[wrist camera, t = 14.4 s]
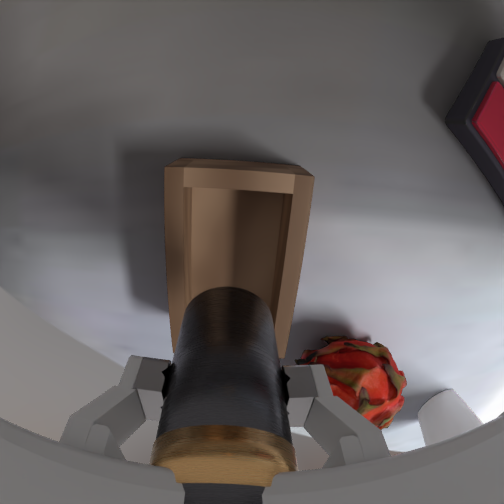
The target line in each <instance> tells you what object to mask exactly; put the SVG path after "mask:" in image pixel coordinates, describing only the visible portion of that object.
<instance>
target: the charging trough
mask: <svg viewBox="0 0 504 504" xmlns="http://www.w3.org/2000/svg"><path fill="white" fill-rule="evenodd" d="M314 178H315V177H314V176H313V175H312V174H310V173H309V172H308V171H306V170H305V169H304V168H302V167H301V166H296V165H286V164H276V163H264V162H251V161H236V160H218V159H193V158H180V159H178V160H176V161H174V162H172V163H171V164H169V165H167V166H165V169H164V220H165V254H166V274H167V290H168V304H169V317H170V328H171V338H172V347H173V353H175V349H176V345H177V340H178V336H179V332H180V328H181V324H182V320H183V316H184V313H185V310H186V308H187V306H188V304H189V303H190V302H191V300H192V299H193V298H195V297H196V296H197V295H198V294H200V293H202V292H204V291H206V290H209V289H211V288H216V287H223V286H230V287H238V288H242V289H245V290H248V291H250V292H252V293H254V294H255V295H257V296H258V297H260V298H261V299H262V300H263V301H264V302H265V303H266V304H267V306H268V308H269V309H270V312H271V314H272V318H273V324H274V331H275V337H276V343H277V349H278V355H279V358H285V353H286V348H287V343H288V338H289V333H290V328H291V323H292V318H293V312H294V307H295V301H296V296H297V290H298V284H299V279H300V273H301V267H302V261H303V254H304V248H305V242H306V235H307V229H308V222H309V215H310V208H311V201H312V193H313V186H314Z"/></svg>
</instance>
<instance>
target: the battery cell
mask: <svg viewBox="0 0 504 504" xmlns="http://www.w3.org/2000/svg"><path fill="white" fill-rule="evenodd" d="M149 465H154V466H161V467H166V468H169V469H170V470H172V471H173V473H174V475H175V479H176V483H182V485H183V488H184V491H185V497H184V504H263V501H262V494H263V492H264V489H265V487H271V484H272V480H273V477H274V476H275V475H276V474H278V473H280V472H291V471H298V464H297V458H296V452H295V449H294V447H293V444H292V437H291V431H290V424H289V418H288V412H287V405H286V399H285V393H284V386H283V380H282V374H281V368H280V361H279V355H278V349H277V343H276V337H275V331H274V324H273V318H272V314H271V312H270V309H269V308H268V306H267V304H266V303H265V302H264V301H263V300H262V299H261V298H260V297H258V296H257V295H255V294H254V293H252V292H250V291H248V290H245V289H242V288H238V287H230V286H223V287H216V288H211V289H209V290H206V291H204V292H202V293H200V294H198V295H197V296H196V297H195V298H193V299H192V300H191V302H190V303H189V304H188V306H187V308H186V310H185V313H184V316H183V320H182V324H181V328H180V332H179V336H178V340H177V345H176V349H175V353H174V357H173V362H172V366H171V370H170V375H169V379H168V384H167V388H166V393H165V397H164V402H163V407H162V411H161V416H160V421H159V426H158V431H157V436H156V440H155V442H154V444H153V448H152V453H151V458H150V464H149Z"/></svg>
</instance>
